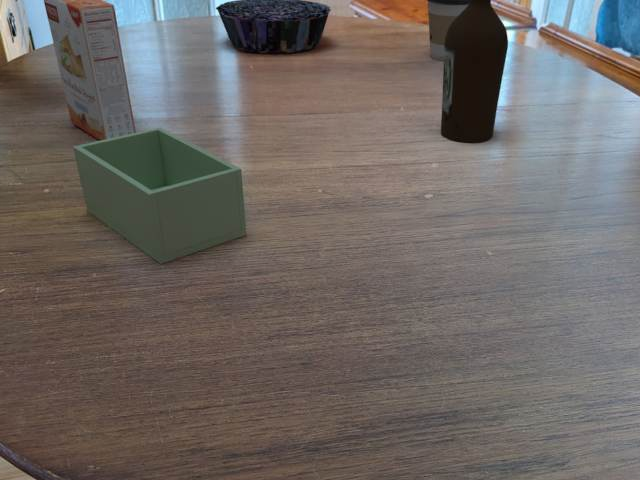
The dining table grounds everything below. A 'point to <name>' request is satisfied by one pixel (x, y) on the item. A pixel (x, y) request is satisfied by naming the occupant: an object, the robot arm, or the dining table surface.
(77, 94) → the cracker box
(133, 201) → the bin
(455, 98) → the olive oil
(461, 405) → the dining table surface
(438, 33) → the coffee cup
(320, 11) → the decorative bowl
